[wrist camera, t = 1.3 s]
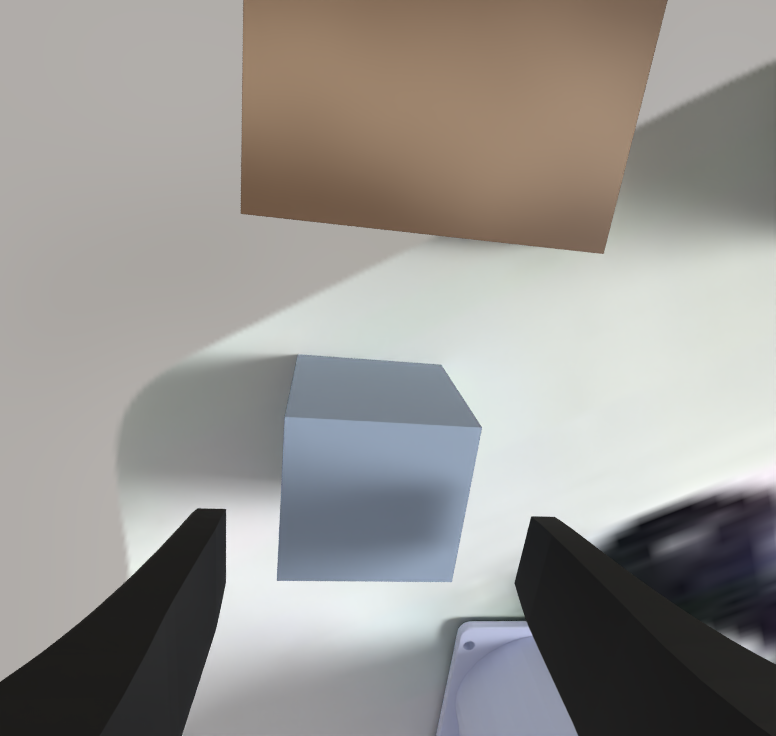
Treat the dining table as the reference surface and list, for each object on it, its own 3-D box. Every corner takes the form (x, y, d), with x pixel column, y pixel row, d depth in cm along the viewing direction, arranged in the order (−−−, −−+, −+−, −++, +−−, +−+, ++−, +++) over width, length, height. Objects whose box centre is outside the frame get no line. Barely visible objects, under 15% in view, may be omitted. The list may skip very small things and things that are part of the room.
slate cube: (421, 485, 19) (451, 581, 14) (290, 480, 18) (276, 580, 13) (440, 364, 17) (482, 427, 12) (298, 353, 16) (284, 416, 12)
